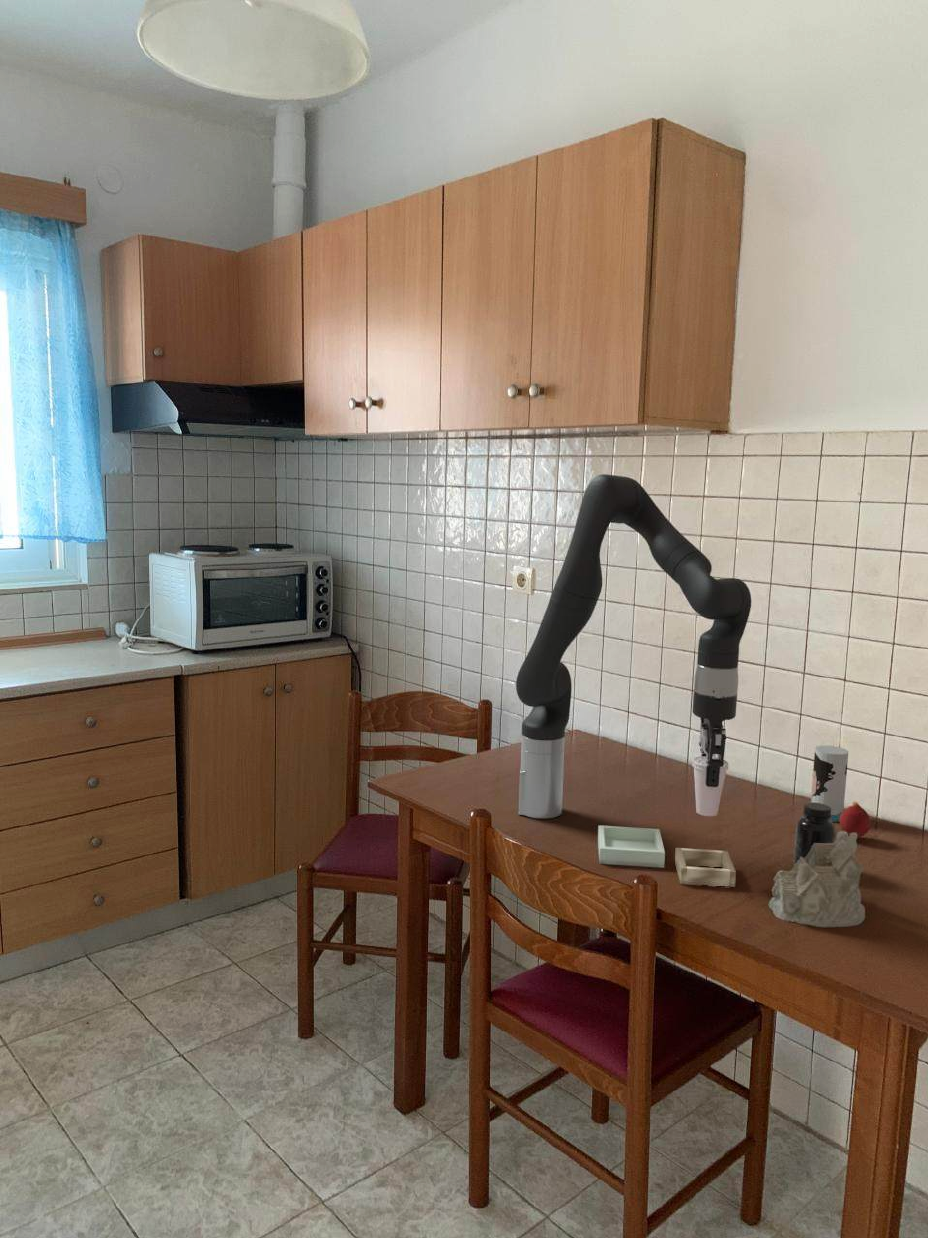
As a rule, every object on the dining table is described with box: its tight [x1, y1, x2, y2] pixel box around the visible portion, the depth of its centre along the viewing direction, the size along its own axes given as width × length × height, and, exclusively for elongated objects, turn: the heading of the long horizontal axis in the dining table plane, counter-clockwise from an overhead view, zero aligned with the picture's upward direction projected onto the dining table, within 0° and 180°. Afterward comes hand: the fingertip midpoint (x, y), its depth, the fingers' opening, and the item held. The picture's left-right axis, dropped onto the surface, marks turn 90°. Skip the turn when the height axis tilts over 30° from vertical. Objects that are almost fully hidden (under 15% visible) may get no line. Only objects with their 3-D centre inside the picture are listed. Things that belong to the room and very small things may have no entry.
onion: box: [839, 800, 871, 839], centre depth 189 cm, size 6×6×8 cm
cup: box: [810, 745, 849, 823], centre depth 201 cm, size 7×7×15 cm
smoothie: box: [691, 754, 729, 817], centre depth 168 cm, size 6×6×14 cm
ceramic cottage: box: [768, 830, 866, 928], centre depth 158 cm, size 16×16×15 cm
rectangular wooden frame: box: [674, 847, 737, 888], centre depth 170 cm, size 10×10×3 cm
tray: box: [597, 825, 666, 869], centre depth 179 cm, size 12×12×3 cm
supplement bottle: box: [793, 802, 836, 865], centre depth 174 cm, size 7×7×12 cm
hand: (709, 779), depth 168 cm, fingers closed on smoothie, 6 cm apart
